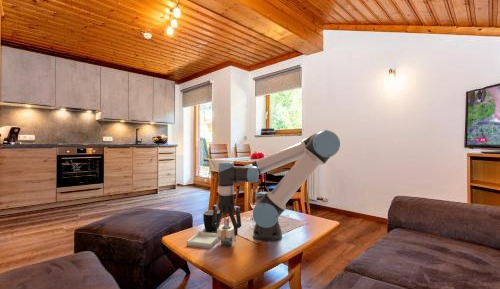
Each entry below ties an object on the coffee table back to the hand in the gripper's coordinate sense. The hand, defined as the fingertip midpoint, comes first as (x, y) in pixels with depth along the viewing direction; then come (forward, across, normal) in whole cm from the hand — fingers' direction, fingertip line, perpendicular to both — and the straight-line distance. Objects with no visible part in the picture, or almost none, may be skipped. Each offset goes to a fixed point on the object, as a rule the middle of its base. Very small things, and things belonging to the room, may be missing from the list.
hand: (226, 240), depth 120 cm
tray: (+2, +12, 0) cm, 12 cm away
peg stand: (+2, 0, 0) cm, 2 cm away
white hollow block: (-3, 0, 0) cm, 3 cm away
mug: (+2, +16, -17) cm, 23 cm away
